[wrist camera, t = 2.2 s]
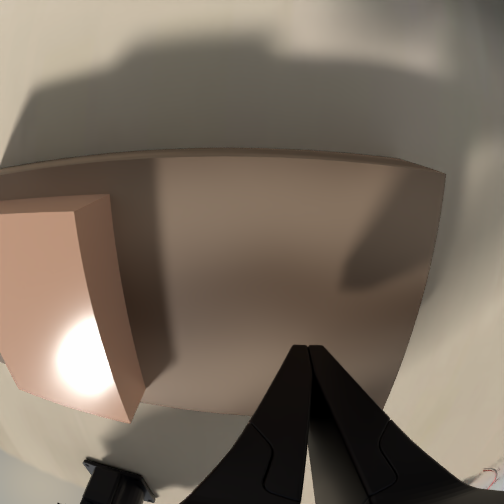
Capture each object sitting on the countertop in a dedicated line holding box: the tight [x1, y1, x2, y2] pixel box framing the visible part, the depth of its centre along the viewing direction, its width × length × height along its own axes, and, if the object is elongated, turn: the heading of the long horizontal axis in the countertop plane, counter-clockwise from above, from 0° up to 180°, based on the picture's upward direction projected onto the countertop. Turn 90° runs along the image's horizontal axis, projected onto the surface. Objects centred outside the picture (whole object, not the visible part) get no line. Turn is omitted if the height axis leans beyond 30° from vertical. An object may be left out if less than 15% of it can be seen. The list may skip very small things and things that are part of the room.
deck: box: [0, 148, 446, 416], centre depth 12 cm, size 10×20×4 cm, turn 89°
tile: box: [0, 194, 146, 424], centre depth 10 cm, size 8×6×2 cm
